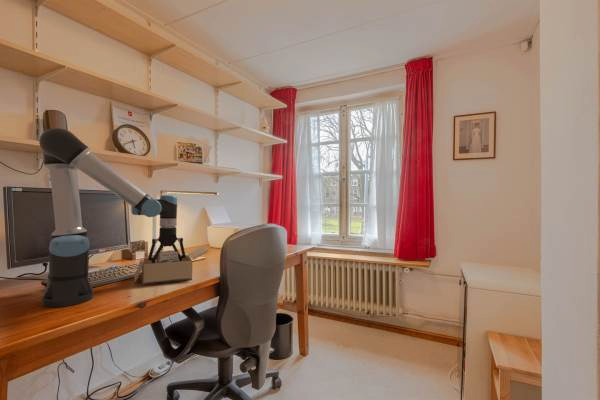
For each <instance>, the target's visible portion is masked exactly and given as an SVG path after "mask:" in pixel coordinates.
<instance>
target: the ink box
mask: <svg viewBox="0 0 600 400" xmlns="http://www.w3.org/2000/svg"><path fill="white" fill-rule="evenodd" d="M178 252H179V251H178ZM178 252H175V250H174V249H171V250H161V251H160V252H159V255H158V256H157V263H166V262H178Z"/></svg>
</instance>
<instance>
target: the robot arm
mask: <svg viewBox="0 0 600 400" xmlns="http://www.w3.org/2000/svg"><path fill="white" fill-rule="evenodd" d="M38 143H39V148H40V149H41V150H42V155H43V166H44V167H45V168H47V169H48V170H49V175H50V183H51V184H50V185H51V194H52V205H53V214H54V215H53V216H54V224H55V229H54V231H53V232H52V233H51V234H50V237H51V240H50V242H49V246H48V251H49V257H48V258H49V260H48V261H49V262H48V282H47V285H46V288H45V290H44V291H43V294H42V295H41V303H40V304H41V306H43V307H45V308H47V307H48V308H62V307H68V306H74V305H78V304H82V303H85V302H88V301H89V300H92V299H93V297H94V289H93V286H92V284H91V281H90V278H89V265H90V263H89V262H90V261H89V260H90V246H91V244H90V239H89V236H88V235H89V234H88V229H86V228H85V227H83V220H82V208H81V200H80V199H81V197H80V188H79V178H78V170H79V171H81V172H82V173H84V174H85V175H87V176H88V177H90V178H91V179H92V180H94V181H95V182H97V183H98V184H100V185H101V186H103V187H104V188H105V189H107V190H109V192H111V193H112V194H114V195H115V196H117V197H118V198H119V199H121V200H122V201H124V202H126V203H127V204H128V205H130V207H131V208H130V211H131V214H132V215H133V216H145V217H146V218H153V217H157V216H159V236H158V238H152V239H151V247H150V251H149V253H148V260H151V261H152V263H157V260H156V258H157V256H158V255H159V252H160V251H163V248H165V247H172V248H173V250H175V252H178V257H179V259H178V262H179V261H182V258H185V257H186V255H187V254H186V252H185V248H184V244H183V243H184V238H183V237H178V236H177V226H178V225H177V223H178V222H177V219H178V197H177V196H176V195H170V194H169V195H168V194H166V195H164V194H162V195H160V198H155V199H154V198H153V197H152V196H150V195H149V194H148V193H147V192H145V191H144V190H143V189H141V188H140V187H138V186H137V185H136V184H134V183H133V182H131V181H130V180H129V179H127V178H126V177H125V176H124V175H122V174H121V173H119V172H118V171H117V170H115V169H114V168H113V167H111V166H110V165H109V164H107V163H106V162H105V161H103V160H102V159H101V158H99V157H98V156H97V155H95V154H94V153H92V152H91V149H90V147H89V146H87V145H86V144H85V143H84V142H83V141H82V140H80V139H79V138H78V137H77V136H76V135H75V134H74V133H73V132H72V131H70V130H68V129H65V128H62V127H61V128H60V127H53V128H48V129H46V130H45V131H43V132H42V133H41V134H40V137H39V140H38ZM177 241H178V244H179V248H180V251H181V253H180V252H179V250H178V248H177V247H176V245H175V243H176V242H177ZM158 242H159V243H160V244H159V246H158V247H157V250H156V252H155V253H154V250H155V247H156V244H157V243H158ZM153 254H154V255H153ZM181 255H182V256H181ZM152 257H153V258H152Z"/></svg>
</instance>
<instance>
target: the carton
mask: <svg viewBox="0 0 600 400" xmlns="http://www.w3.org/2000/svg"><path fill="white" fill-rule="evenodd" d="M180 255H181V256H182V254H180ZM185 255H186V257H185V258H182V261H179V262H166V263H152V261H151V260H148V257H147V256H146V257H142V258H140V261H139V263H138V265H137V267H136V269H135V272H134V282H137V280H138V278H139V276H140V273H141V282H142V284H141V285H143V286H144V285H153V284H163V283H173V282H182V281H191V280H193V260H192V258H191V257H190V255H189V254H188V255H189V256H188V255H187V254H185ZM153 257H154V256H152V258H153ZM178 259H179V257H178ZM156 260H157V258H156Z"/></svg>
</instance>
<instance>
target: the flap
mask: <svg viewBox="0 0 600 400" xmlns="http://www.w3.org/2000/svg"><path fill="white" fill-rule="evenodd" d="M208 252H209V250H208V249H207V248H206V247H204V246H203V245H202V246H200V247H198V248H196V249H195V250H192V251H191V252H189V253H188V255H189V257H190V259H191V260H192V259H193V260H196V259H197V258H199V257H202V256H203V255H204V254H206V253H208ZM193 260H192V261H193Z"/></svg>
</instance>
